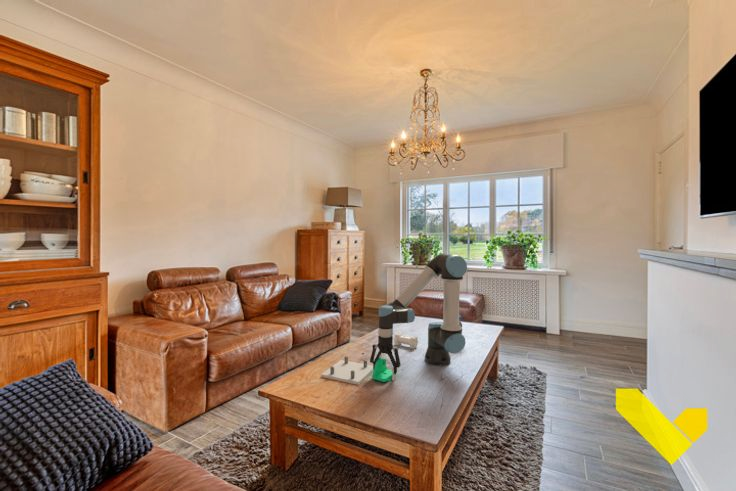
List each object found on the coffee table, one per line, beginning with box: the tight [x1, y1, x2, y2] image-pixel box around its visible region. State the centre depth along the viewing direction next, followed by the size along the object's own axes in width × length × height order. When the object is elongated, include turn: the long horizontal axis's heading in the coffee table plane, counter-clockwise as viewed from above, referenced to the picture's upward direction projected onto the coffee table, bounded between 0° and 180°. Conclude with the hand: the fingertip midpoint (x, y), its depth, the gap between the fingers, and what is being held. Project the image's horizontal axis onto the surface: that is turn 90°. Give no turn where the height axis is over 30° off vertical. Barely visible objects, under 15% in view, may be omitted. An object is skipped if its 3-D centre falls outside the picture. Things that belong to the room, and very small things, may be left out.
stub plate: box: [320, 355, 374, 386], centre depth 184 cm, size 22×22×5 cm
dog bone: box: [393, 332, 419, 350], centre depth 228 cm, size 15×9×8 cm, turn 56°
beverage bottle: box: [459, 314, 463, 329], centre depth 233 cm, size 8×8×20 cm
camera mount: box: [371, 356, 397, 383], centre depth 178 cm, size 12×8×10 cm, turn 143°
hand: (384, 377), depth 178 cm, fingers open, 9 cm apart
